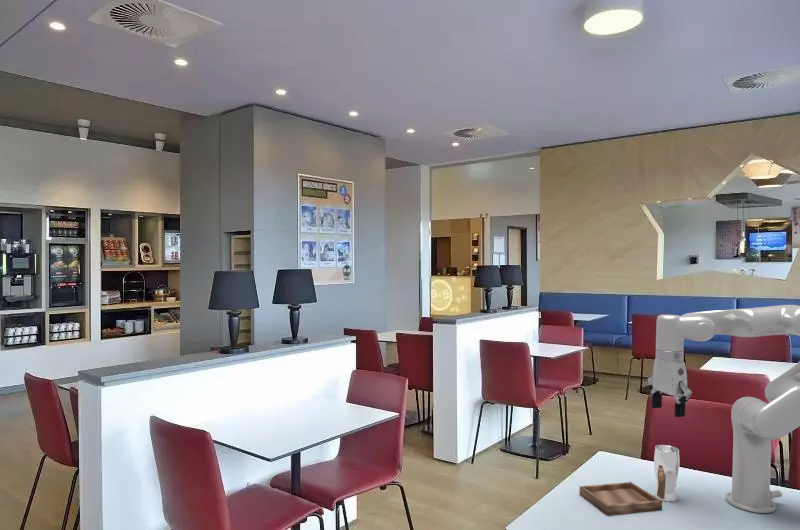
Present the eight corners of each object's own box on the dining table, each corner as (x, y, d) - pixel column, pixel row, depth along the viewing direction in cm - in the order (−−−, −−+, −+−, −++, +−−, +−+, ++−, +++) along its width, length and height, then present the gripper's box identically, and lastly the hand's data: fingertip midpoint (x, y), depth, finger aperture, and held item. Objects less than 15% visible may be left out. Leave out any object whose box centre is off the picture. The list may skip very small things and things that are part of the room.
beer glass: (655, 490, 173) (657, 443, 172) (680, 496, 168) (681, 447, 168) (650, 498, 167) (652, 449, 167) (676, 504, 163) (677, 454, 163)
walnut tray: (630, 489, 173) (630, 481, 173) (662, 509, 159) (662, 501, 159) (579, 494, 168) (579, 486, 168) (607, 515, 155) (607, 506, 155)
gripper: (701, 360, 160) (700, 419, 160) (659, 350, 176) (658, 404, 177) (679, 361, 158) (678, 421, 158) (639, 351, 175) (638, 405, 175)
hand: (667, 412), depth 167 cm, fingers open, 9 cm apart
